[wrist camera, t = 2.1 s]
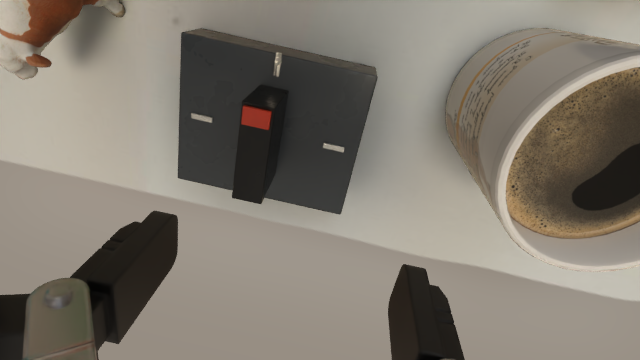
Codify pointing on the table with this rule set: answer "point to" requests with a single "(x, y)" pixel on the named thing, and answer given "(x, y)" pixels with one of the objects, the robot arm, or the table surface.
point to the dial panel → (299, 121)
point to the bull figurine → (37, 29)
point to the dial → (258, 142)
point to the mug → (555, 143)
